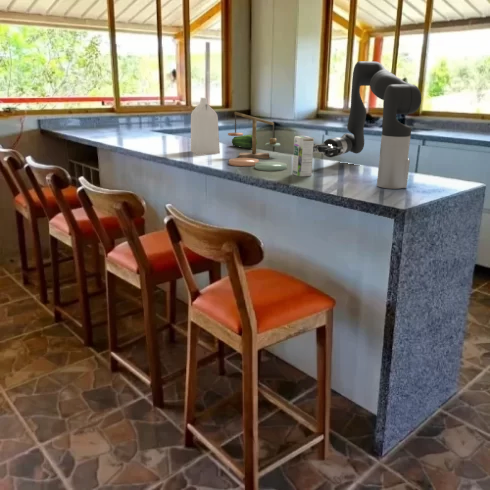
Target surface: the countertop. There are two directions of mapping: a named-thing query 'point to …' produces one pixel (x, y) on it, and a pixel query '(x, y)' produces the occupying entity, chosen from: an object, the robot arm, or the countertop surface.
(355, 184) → the countertop surface
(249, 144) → the vegetable
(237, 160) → the terracotta dish
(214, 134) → the milk
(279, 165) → the sage dish
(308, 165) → the syrup box
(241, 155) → the balance
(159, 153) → the countertop surface
